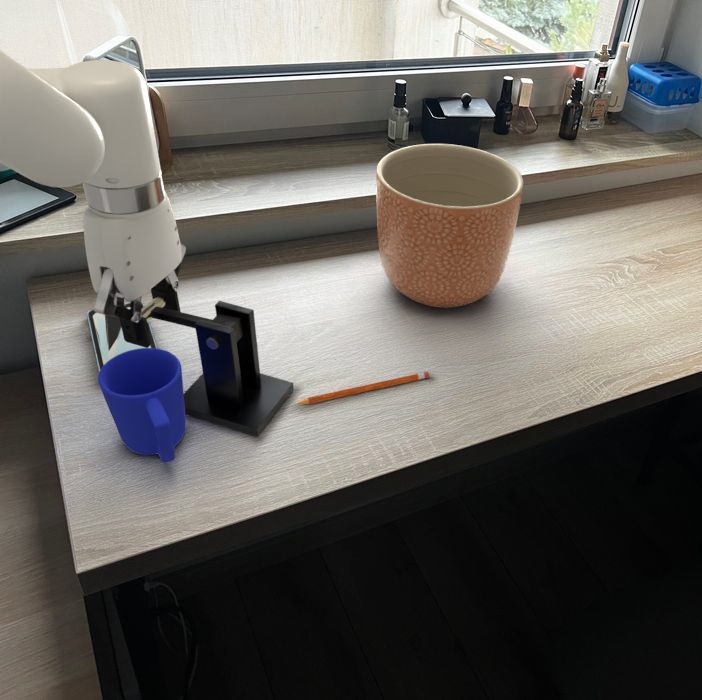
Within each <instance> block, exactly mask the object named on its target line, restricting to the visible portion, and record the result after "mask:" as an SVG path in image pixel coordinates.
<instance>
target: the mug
mask: <svg viewBox="0 0 702 700" xmlns="http://www.w3.org/2000/svg"><path fill="white" fill-rule="evenodd" d="M97 383H98V386H99V388H100V390H101V393H102V395H103V398H104V401H105V403H106V406H107V408H108V410H109V412H110V415H111V418H112V420H113V423H114V426H115V427H116V430H117V432H118V435H119V437H120V439H121V441H122V443H123V444H124V446H125V447H127V449H129V450H130V451H131V452H133V453H136V454H139V455H143V456H144V455H146V456H151V455H159V456H158V457H159V459H160V461H161V463H163V464H168V463H171V462H173V461H175V459H176V451H175V447H176V446H177V445H179V443H180V442H181V441H182V440H183V438H184V436H185V433H186V429H187V417H186V416H187V415H185V404H184V393H185V391H184V380H183V370H182V364H181V361H180V360H179V358H178V357H177V356H176V355H175V354H173V353H172V352H171V351H168V350H165V349H161V348H158V349H156V348H140V349H134V350H130V351H126V352H124V353H121V354H119V355H117V356H115V357H113V358H112V359H110V360H109V361H108V362H107V363H106V364H105V365H104V366H103V367H102V368H101V370H100V372H99V371H98V376H97Z"/></svg>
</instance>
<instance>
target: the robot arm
mask: <svg viewBox="0 0 702 700" xmlns="http://www.w3.org/2000/svg"><path fill="white" fill-rule="evenodd" d="M147 86H148V85H147V82H146V80H145V78H144V76H143V74H142V73H141V72H140V70H138V68H136V67H135V66H133V65H132V64H129V63H126V62H122V61H117V60H109V59H94V60H85V61H80V62H77V63H74V64H71V65H69V66H66V67H57V68H56V67H55V68H52V67H51V68H28V67H26V66H25V65H23V64H21V63H20V62H19V61H17V60H16V59H14V58H12V57H11V56H10V55H9V54H7V53H5V51H3V50H2V49H0V164H1V165H4V166H5V167H7V168H9V169H10V170H12V171H14V172H16V173H18V174H19V175H21V176H23V177H25V178H27V179H29V180H31V181H32V182H35V183H37V184H39V185H42V186H47V187H51V188H72V187H75V186H78V185H81V184H82V187H83V191H84V195H85V196H84V197H85V199H86V203H87V204H86V205H87V209H86V210H85V211H83V238H84V248H85V255H86V261H87V267H88V272H89V276H90V280H91V284H92V288H93V290H94V292H95V293H96V294H97V295H96V300H95V302H94V306H93V309H94V311H95V312H96V313H100V314H103V315H108V316H115V317H118V318H119V320H120V324H121V328H122V332H123V336H124V340H125V341H126V342H128V343H132V344H135V345H139V346H142V347H146V348H148V347H149V346H150V345H151V338H150V334H149V329H148V324H147V320H146V318H145V317H142V316H141V306H142V302H143V299H142V297H143V296H144V295H145V294H147V293H148V292H149V291H150V293H151V298H152V300H153V299H154V298H155V297H156V296H158V295H164V296H165V297H166V298H167V299H168V302H169V303H168V305H167V306H166V307H165V309H170V310H174V311H178V312H182V311H181V306H180V301H179V300H180V299H179V294H178V291H177V290H178V289H179V287H180V280H179V274H180V271H181V269H182V262H183V259H184V256H185V255H186V251H187V246H185V245H184V244H183V243H182V242H181V240H180V235H179V229H178V226H177V221H176V219H175V218H176V217H175V214H174V211H173V208H172V205H171V202H170V199H169V196H168V194H167V192H166V190H165V187H164V180H163V174H162V168H161V163H160V157H159V151H158V145H157V138H156V133H155V126H154V121H153V114H152V109H151V104H150V98H149V97H150V96H149V92H148V87H147ZM125 301H126V302H127V303H129V302H130V309H128V308H125V307H124V303H125Z"/></svg>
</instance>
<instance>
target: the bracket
mask: <svg viewBox="0 0 702 700" xmlns="http://www.w3.org/2000/svg"><path fill="white" fill-rule="evenodd" d="M214 309H215V315H216V316H217V315H218V314H219V313H220V314H224V315H229V316H233V317H237V318H241V322H242V328H243V336H242V337H241V338H240V339H239V340H238V341H237V342H236V334H235V329H233V328H229V327H226V326H222V325H218V324H215V323H211V322H207V321H204V320H199V321H197V322H196V323H195V328H194V329H195V333H196V340H197V345H198V351H199V358H200V363H201V370H202V374H201V375H200V376H199V377H198V378H197V379H196V380H195V381H194V382H193V383H192V384H191V385H190V386H189V388H187V389H186V390H185V391H184V404H185V416H188V417H191V418H195V419H198V420H202V421H204V422H207V423H211V424H214V425H217V426H221V427H224V428H227V429H231V430H234V431H238V432H241V433H244V434H248V435H251V436H254V437H259V436H260V435H261V433H262V432H263V430H264V429H265V428H266V427H267V425H268V424H269V422H271V420H272V419H273V417H274V416H275V415H276V413H277V412H278V411H279V410H280V408H281V407H282V406H283V404H285V401H287V399H288V398H289V396H290V395H291V394H292V393H293V391H294V390H295V389H294V382H292V381H289V380H285V379H281V378H278V377H274V376H271V375H268V374H264V373H261V368H260V359H259V351H258V350H259V349H258V340H257V330H256V322H255V312H254V309H252V308H249V307H244V306H241V305H237V304H233V303H230V302H226V301H222V300H218V301H217V302H216V303H215V305H214ZM216 316H215V317H216Z"/></svg>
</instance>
